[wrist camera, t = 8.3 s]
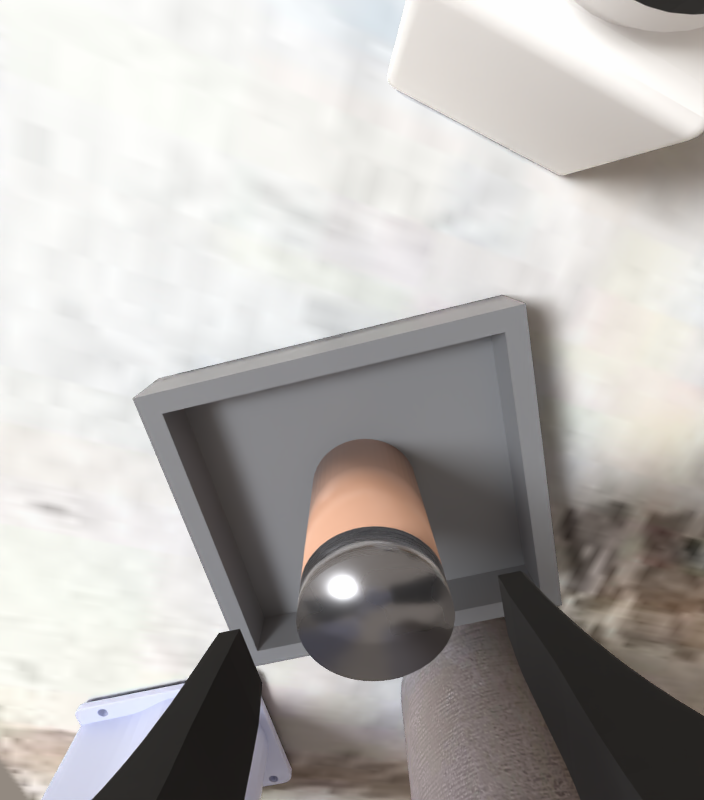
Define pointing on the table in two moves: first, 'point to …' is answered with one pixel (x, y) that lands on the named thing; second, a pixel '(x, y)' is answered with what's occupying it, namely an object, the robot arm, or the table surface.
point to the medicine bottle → (558, 73)
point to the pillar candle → (479, 725)
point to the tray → (350, 420)
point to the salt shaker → (371, 568)
